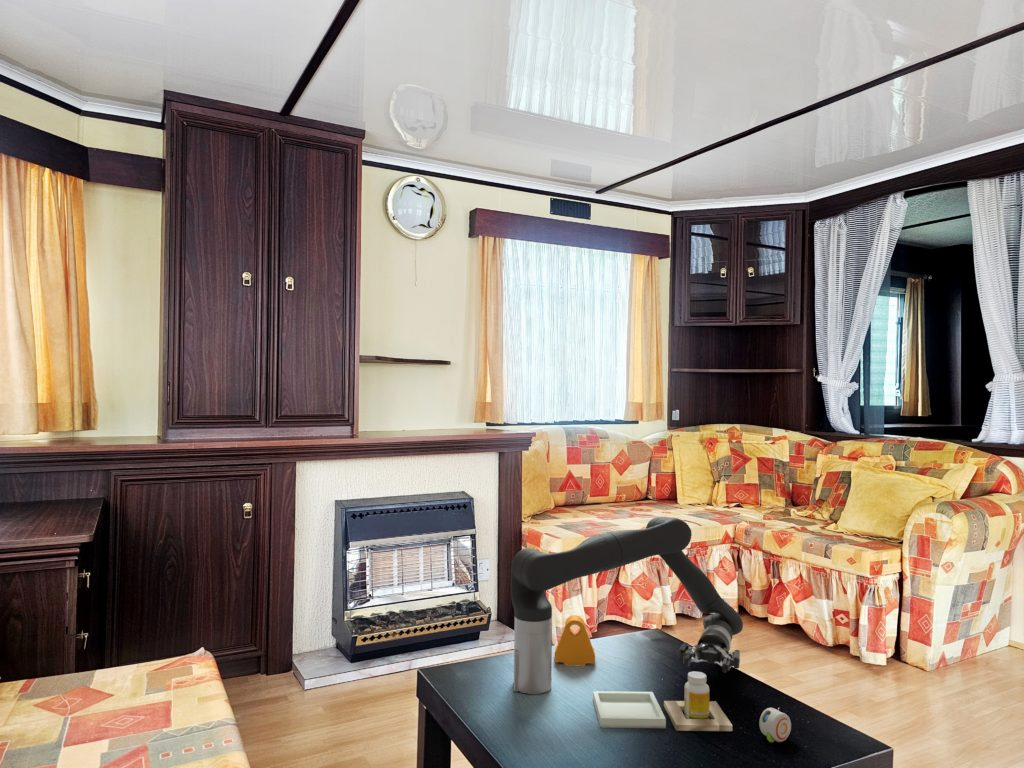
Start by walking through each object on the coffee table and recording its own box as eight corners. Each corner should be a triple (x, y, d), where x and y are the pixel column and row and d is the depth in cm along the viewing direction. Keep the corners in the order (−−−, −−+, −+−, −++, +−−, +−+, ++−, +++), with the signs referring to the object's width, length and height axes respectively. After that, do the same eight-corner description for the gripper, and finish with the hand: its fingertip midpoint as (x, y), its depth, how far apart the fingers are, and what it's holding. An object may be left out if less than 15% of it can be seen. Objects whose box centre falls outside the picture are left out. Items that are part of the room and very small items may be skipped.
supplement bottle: (679, 715, 155) (679, 672, 155) (698, 711, 157) (698, 668, 158) (695, 725, 150) (695, 680, 150) (714, 721, 152) (714, 676, 153)
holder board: (676, 730, 148) (676, 724, 148) (663, 706, 160) (663, 700, 160) (732, 731, 148) (732, 725, 148) (715, 706, 160) (715, 701, 160)
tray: (600, 727, 149) (600, 718, 149) (593, 699, 163) (593, 691, 163) (665, 728, 149) (665, 718, 149) (652, 700, 163) (652, 691, 163)
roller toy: (755, 737, 145) (755, 709, 145) (776, 730, 148) (776, 703, 149) (772, 746, 141) (772, 717, 142) (793, 739, 144) (793, 711, 145)
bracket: (594, 656, 191) (594, 612, 191) (595, 666, 184) (595, 621, 184) (555, 655, 192) (555, 611, 192) (554, 664, 184) (554, 619, 185)
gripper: (686, 625, 182) (674, 645, 167) (743, 632, 176) (736, 654, 161) (686, 654, 182) (675, 676, 167) (743, 662, 176) (736, 686, 161)
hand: (705, 665), depth 164 cm, fingers open, 8 cm apart
